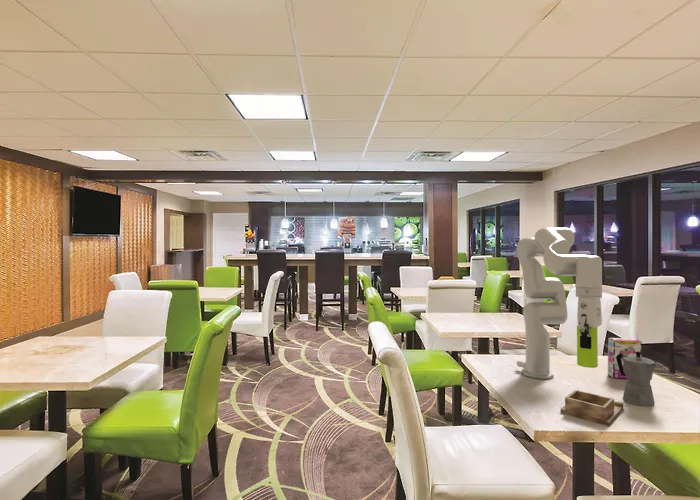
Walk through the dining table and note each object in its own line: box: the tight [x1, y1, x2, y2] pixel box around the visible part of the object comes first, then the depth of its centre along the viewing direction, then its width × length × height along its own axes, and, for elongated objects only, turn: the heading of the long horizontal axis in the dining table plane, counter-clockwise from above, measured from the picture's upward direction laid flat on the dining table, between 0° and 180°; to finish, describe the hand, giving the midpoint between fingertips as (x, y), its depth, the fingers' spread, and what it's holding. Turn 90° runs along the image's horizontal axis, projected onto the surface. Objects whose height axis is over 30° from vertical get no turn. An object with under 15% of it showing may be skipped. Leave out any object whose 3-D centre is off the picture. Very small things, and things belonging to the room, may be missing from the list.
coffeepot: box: [616, 351, 658, 407], centre depth 142 cm, size 15×9×18 cm, turn 13°
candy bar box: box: [607, 337, 643, 380], centre depth 167 cm, size 11×5×16 cm, turn 84°
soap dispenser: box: [576, 305, 602, 369], centre depth 131 cm, size 6×7×20 cm
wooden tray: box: [560, 389, 624, 427], centre depth 133 cm, size 14×18×5 cm
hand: (588, 345), depth 131 cm, fingers closed on soap dispenser, 5 cm apart
